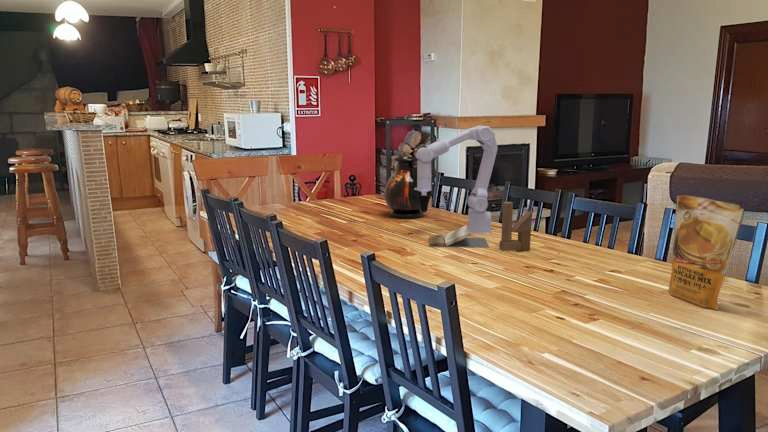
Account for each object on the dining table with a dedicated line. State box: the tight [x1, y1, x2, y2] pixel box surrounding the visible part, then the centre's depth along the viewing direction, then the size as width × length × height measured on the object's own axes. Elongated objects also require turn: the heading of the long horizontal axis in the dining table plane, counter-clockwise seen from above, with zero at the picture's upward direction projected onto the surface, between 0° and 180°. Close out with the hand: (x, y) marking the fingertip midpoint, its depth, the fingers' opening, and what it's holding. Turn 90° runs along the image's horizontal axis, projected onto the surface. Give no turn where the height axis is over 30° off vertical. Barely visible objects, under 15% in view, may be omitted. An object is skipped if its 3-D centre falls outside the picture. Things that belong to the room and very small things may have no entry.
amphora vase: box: [384, 156, 425, 219], centre depth 275 cm, size 22×22×28 cm
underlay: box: [429, 237, 490, 249], centre depth 221 cm, size 22×16×1 cm
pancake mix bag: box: [667, 194, 745, 311], centre depth 154 cm, size 7×19×28 cm, turn 19°
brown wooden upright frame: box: [498, 201, 533, 252], centre depth 210 cm, size 4×11×18 cm, turn 104°
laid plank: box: [428, 234, 446, 247], centre depth 222 cm, size 6×14×1 cm, turn 176°
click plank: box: [443, 224, 472, 246], centre depth 221 cm, size 10×14×1 cm
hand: (424, 210), depth 237 cm, fingers open, 7 cm apart
